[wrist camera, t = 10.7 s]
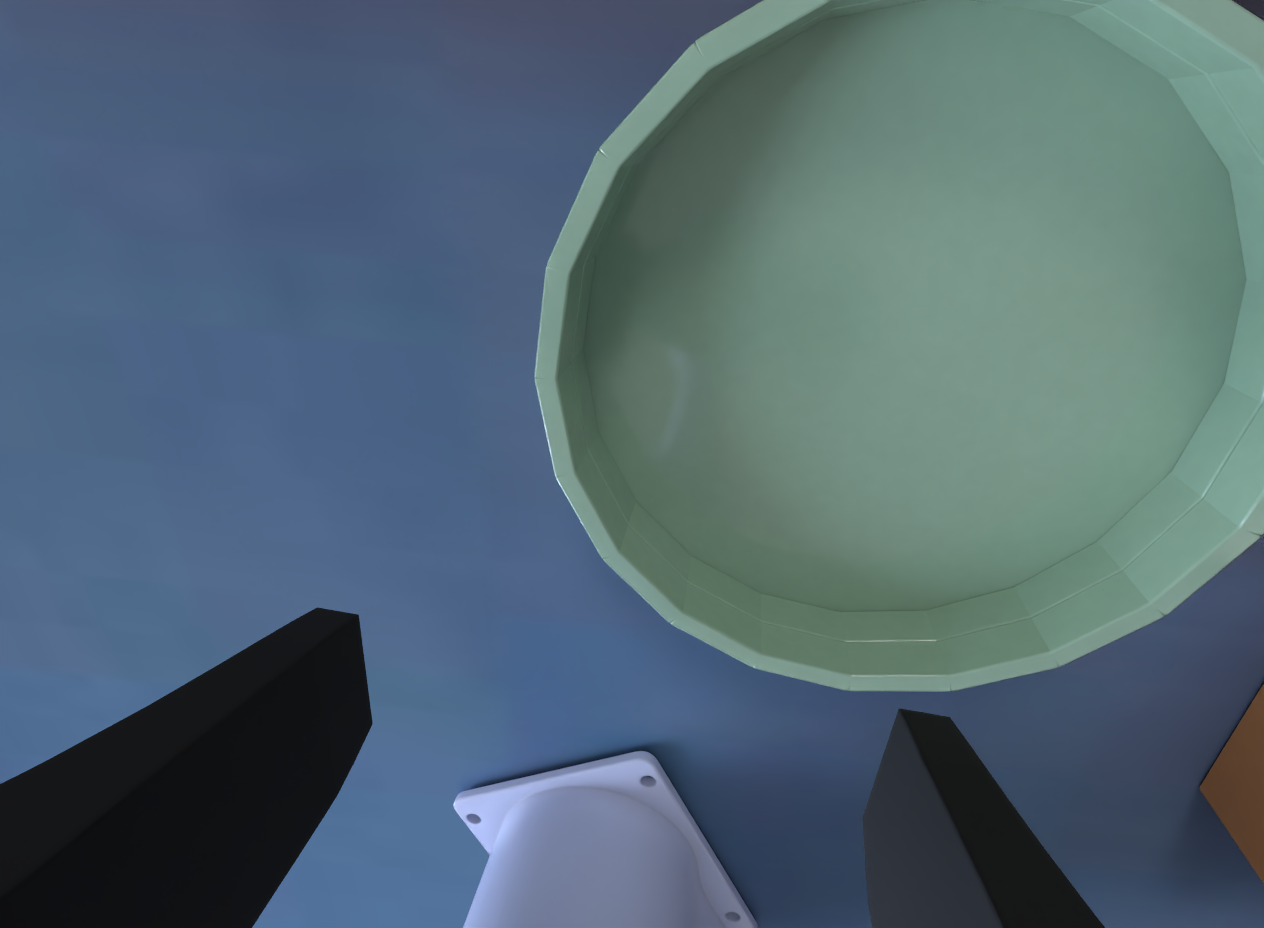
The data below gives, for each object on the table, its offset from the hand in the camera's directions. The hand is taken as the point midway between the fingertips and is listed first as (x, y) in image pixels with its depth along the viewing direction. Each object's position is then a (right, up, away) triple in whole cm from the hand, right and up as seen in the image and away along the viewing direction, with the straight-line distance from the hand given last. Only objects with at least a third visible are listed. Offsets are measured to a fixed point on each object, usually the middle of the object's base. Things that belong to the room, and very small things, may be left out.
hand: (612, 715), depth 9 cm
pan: (+6, +6, +7) cm, 11 cm away
